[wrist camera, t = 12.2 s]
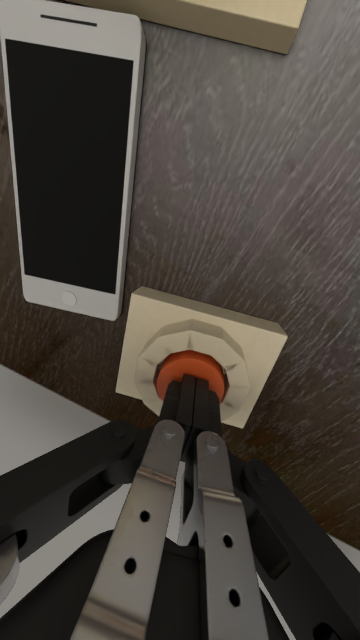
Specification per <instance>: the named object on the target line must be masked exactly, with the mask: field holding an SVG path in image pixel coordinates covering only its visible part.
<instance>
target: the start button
mask: <svg viewBox="0 0 360 640" xmlns="http://www.w3.org/2000/svg"><path fill="white" fill-rule="evenodd" d="M184 374H186V375H190V376H194V377H197V378H201V379H204V380H208V381H209V390H211V391H214V392H216V394H217V396H218V397H219V400H220V401H221V399H222V397H223V394H224V380H223V370H222V366H221V364H219V363H218V362H217V361H216V360H215V359H214V358H213V357H212V356H211V355H207V354H204V353H200V352H197V351H193V350H186V351H181V352H175V353H170V354H169V355H168V356H167V357H166V358H165V359H164V361H163V364H162V367H161V370H160V373H159V375H158V378H157V390H158V393H159V395H160V397H161V399H162V400H163V401H164V397H165V394H166V390H167V387H168V384H169V383H170V382H171V381H172V380H175V381H179V382H181V381H182V378H183V375H184Z"/></svg>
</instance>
